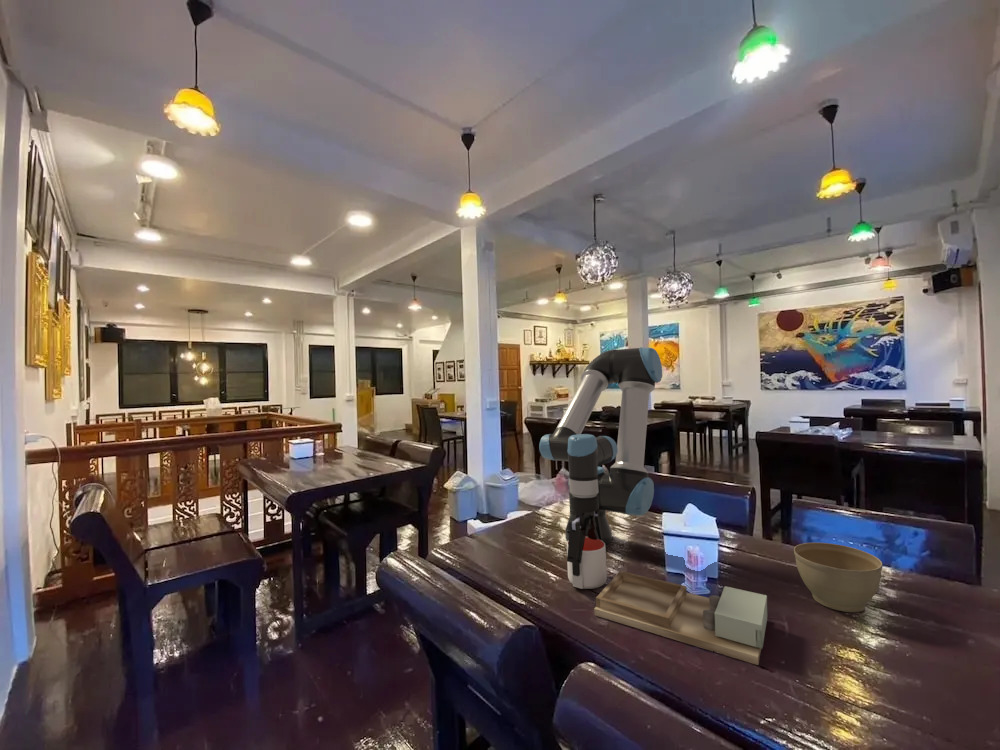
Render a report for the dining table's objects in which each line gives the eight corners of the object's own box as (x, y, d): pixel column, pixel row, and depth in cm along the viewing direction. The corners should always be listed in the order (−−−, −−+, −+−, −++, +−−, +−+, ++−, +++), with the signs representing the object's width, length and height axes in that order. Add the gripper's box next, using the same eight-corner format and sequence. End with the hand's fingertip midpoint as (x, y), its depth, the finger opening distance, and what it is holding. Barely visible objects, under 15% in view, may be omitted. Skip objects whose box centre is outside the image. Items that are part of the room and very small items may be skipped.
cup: (607, 592, 109) (606, 552, 109) (567, 589, 111) (565, 550, 111) (606, 574, 119) (604, 537, 119) (568, 572, 121) (567, 535, 121)
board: (622, 582, 113) (621, 565, 113) (766, 618, 95) (765, 597, 95) (594, 615, 99) (593, 595, 99) (758, 665, 80) (757, 640, 80)
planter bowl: (863, 589, 105) (862, 544, 105) (900, 627, 90) (898, 574, 90) (786, 581, 111) (785, 539, 111) (808, 615, 95) (806, 566, 95)
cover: (725, 605, 97) (724, 586, 97) (767, 616, 93) (766, 595, 93) (715, 635, 87) (714, 613, 87) (762, 648, 82) (761, 625, 82)
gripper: (588, 482, 126) (591, 559, 126) (550, 503, 108) (553, 593, 108) (613, 485, 122) (616, 565, 122) (578, 507, 103) (582, 601, 103)
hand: (587, 578), depth 115 cm, fingers closed on cup, 10 cm apart
